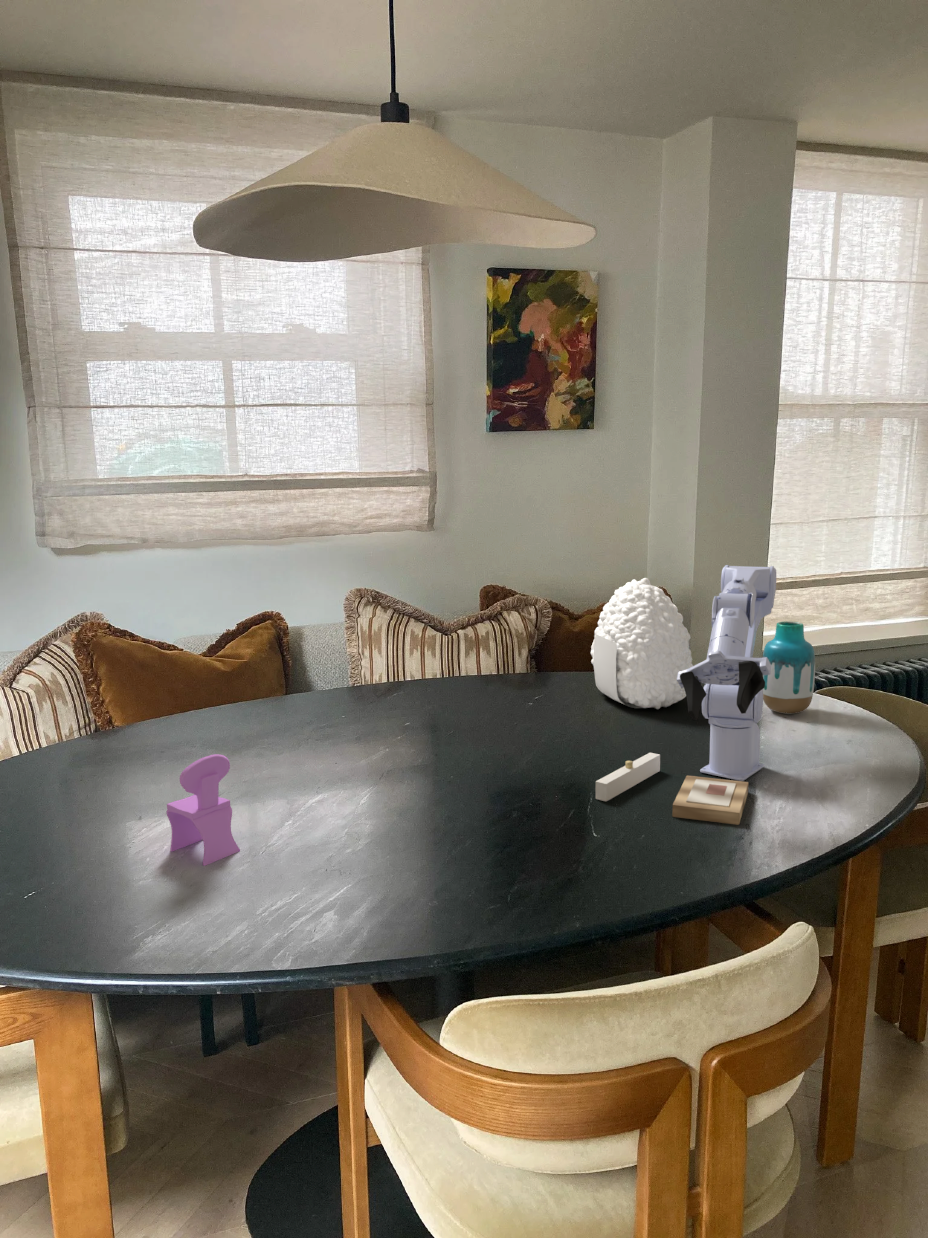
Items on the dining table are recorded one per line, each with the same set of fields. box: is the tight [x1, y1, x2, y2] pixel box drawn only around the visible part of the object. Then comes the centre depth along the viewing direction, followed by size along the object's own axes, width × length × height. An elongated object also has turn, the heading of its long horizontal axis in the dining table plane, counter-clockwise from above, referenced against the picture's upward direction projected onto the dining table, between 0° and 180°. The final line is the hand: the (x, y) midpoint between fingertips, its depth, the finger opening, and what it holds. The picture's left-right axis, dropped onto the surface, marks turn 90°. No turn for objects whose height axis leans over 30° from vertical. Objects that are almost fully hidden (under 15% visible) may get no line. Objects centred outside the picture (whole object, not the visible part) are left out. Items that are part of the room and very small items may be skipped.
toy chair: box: [165, 753, 241, 867], centre depth 137 cm, size 8×9×15 cm
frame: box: [671, 775, 749, 826], centre depth 151 cm, size 14×10×3 cm
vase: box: [762, 620, 816, 715], centre depth 198 cm, size 11×11×19 cm
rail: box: [595, 752, 661, 802], centre depth 160 cm, size 18×2×4 cm, turn 140°
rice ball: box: [589, 577, 694, 710], centre depth 210 cm, size 28×19×28 cm
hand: (716, 712), depth 142 cm, fingers open, 7 cm apart
